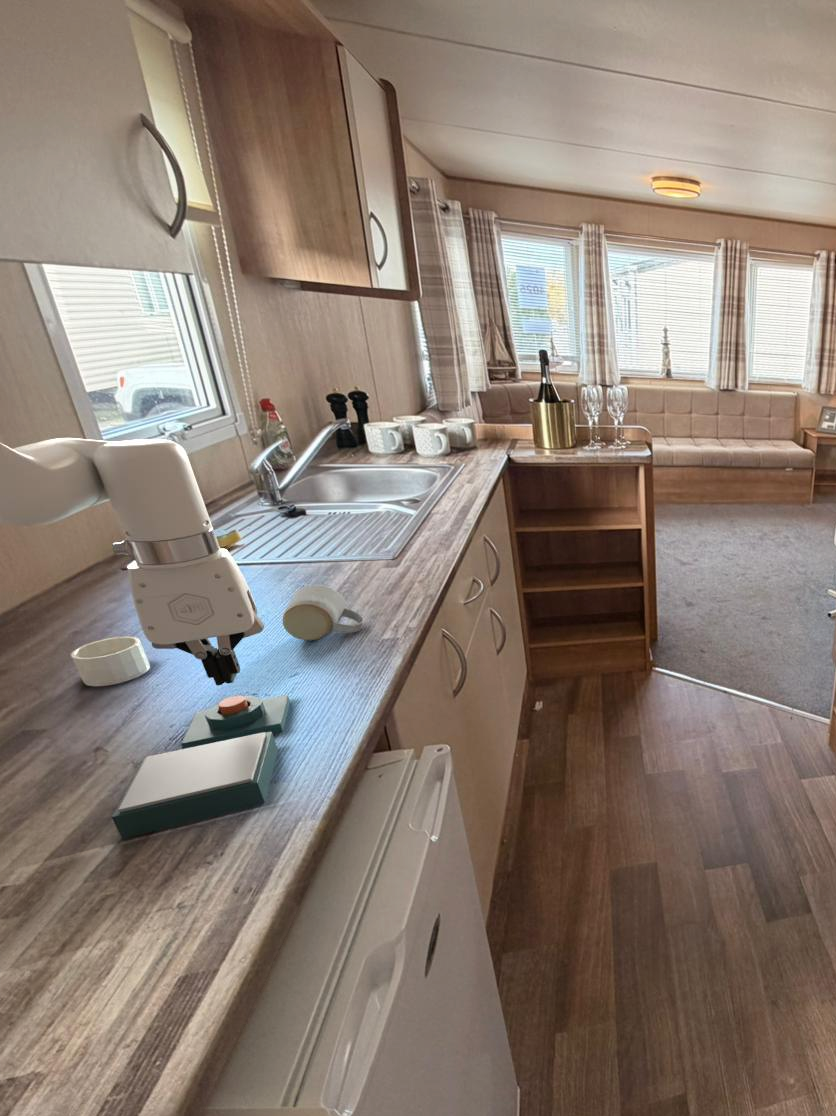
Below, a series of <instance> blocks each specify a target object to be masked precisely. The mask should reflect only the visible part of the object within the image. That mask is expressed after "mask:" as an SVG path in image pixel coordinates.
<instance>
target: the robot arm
mask: <svg viewBox="0 0 836 1116" xmlns="http://www.w3.org/2000/svg"><path fill="white" fill-rule="evenodd" d="M108 501H110V504H111V506H112V508H113V510H114V513H115V515H116V518H117V520H118V523H119V525H120V527H121V530H122V532H123V535H124V537H125V539H123V540H122V541H120V542H114V543H112V544H111V547H112V551H113V553H114V555H116V556H117V555H125V556H127V555H128V556H129V557H130V558H131V560H132V562H131V563H129V564H128V565H127V567H126V568H127V577H128V582H129V588H130V592H131V597H132V600H133V605H134V607H135V611H136V614H137V617H138V620H139V624H140V627H141V630H142V632H143V634H144V636H145V638H146V640H147V641H149V642H150V643H151V647H152V648H153V649H156V650H174V649H178V650H180V651H183V652H185V653H187V654H190V655H192V656H193V657H194V658H195V659H196V660H200V661H201V664H202V666H203V669H204V671H205V674H206V676H207V678H208V679H212V678H213V681H214V684H215V686H222V685H223V684H227V685H228V684H233V683H234V681H235V679H236V676H237V674H240V672H241V665H240V663H239V660H238V658H237V655H236V652H235V650H234V649H235V648H236V647H237V646H238V645H239V643H240V642H241V641H242V640H243V639H245V638H248V637H251V636H255V635H257V634H260V633H262V632H263V631H264V628H265V624H264V622H263V621H262V619H260V617H259V616H258V608H257V604H256V601H255V599H254V596H253V594H252V592H251V590H250V587H249V586H248V583H247V581H246V579H245V577H244V575H243V573H242V571H241V570H240V569H241V568H240V567H239V566H238V564H237V562H236V561H235V559H234V558H233V556H232V554H231V553H230V552H229V551H228V549H226V548H221V546H220V543H219V541H218V538H217V534H216V533H215V530H214V527H213V524H212V521H211V519H210V516H209V512H208V510H207V507H206V505H205V501H204V499H203V496H202V493H201V490H200V487H199V484H198V482H197V478H196V476H195V474H194V470H193V468H192V465H191V462H190V459H189V457H188V454H187V452H186V450H185V449H184V448H183V446H182V445H180V444H179V443H177V442H175V441H172V440H167V439H160V438H159V439H158V438H157V439H155V438H150V439H148V438H145V439H143V438H142V439H130V440H129V439H128V440H120V441H111V440H110V441H108V440H98V439H97V440H96V439H85V438H76V437H75V438H74V437H58V438H56V437H55V438H50V439H45V440H41V441H37V442H34V443H28V444H25V445H22V446H21V445H20V446H17V447H14V448H11V447H9V446H8V445H5V444H4V443H2V442H0V523H6V524H8V525H14V526H22V527H36V526H45V525H50V524H53V523H56V522H59V521H61V520H63V519H65V518H67V517H69V516H72V515H74V514H76V513H78V512H81V511H84V510H85V509H89V508H91V507H95V506H97V505H100V504H102V503H106V502H108ZM211 638H216V642H217V647H215V646H213V645H212V643H211V642H210V640H209V639H211Z"/></svg>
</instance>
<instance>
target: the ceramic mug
mask: <svg viewBox="0 0 836 1116" xmlns="http://www.w3.org/2000/svg"><path fill="white" fill-rule="evenodd" d="M343 617H344V618H348V619H351V620H353V621H355V622H356V623H357V624H342V623H339V622H340V621H341V619H342V618H343ZM364 623H365V618H364V616H362V615H361V614H360V613H358V612H357V611H354V610H352V609H349V608H346V602H345V599H344V597H343V596H342V595H341V593H339V592H338V591H337V590H335V589H334V588H332V587H330V586H327V585H324V584H323V585H321V584H309V585H305V586H303V587H301V588H299V589H298V590H297V591H296V592H295V593H294V594H293V596H292V598H291V599H290V601H289V603H288V605H287V606H286V608H285V610H284V612H283V615H282V625H283V628H284V630H285V631H286V632H287V633H288V634H289V635H290V636H292V637H294V638H296V639H298V640H302V641H307V642H308V641H318V640H320V639H324V638H325V637H327V636H328V635H329V634H331V633H332V632H333V631H334V632H338V633H344V634H347V633H348V634H352V633H356V632H357V633H358V632H359V631H361V630H362V629H363V626H364Z"/></svg>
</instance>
